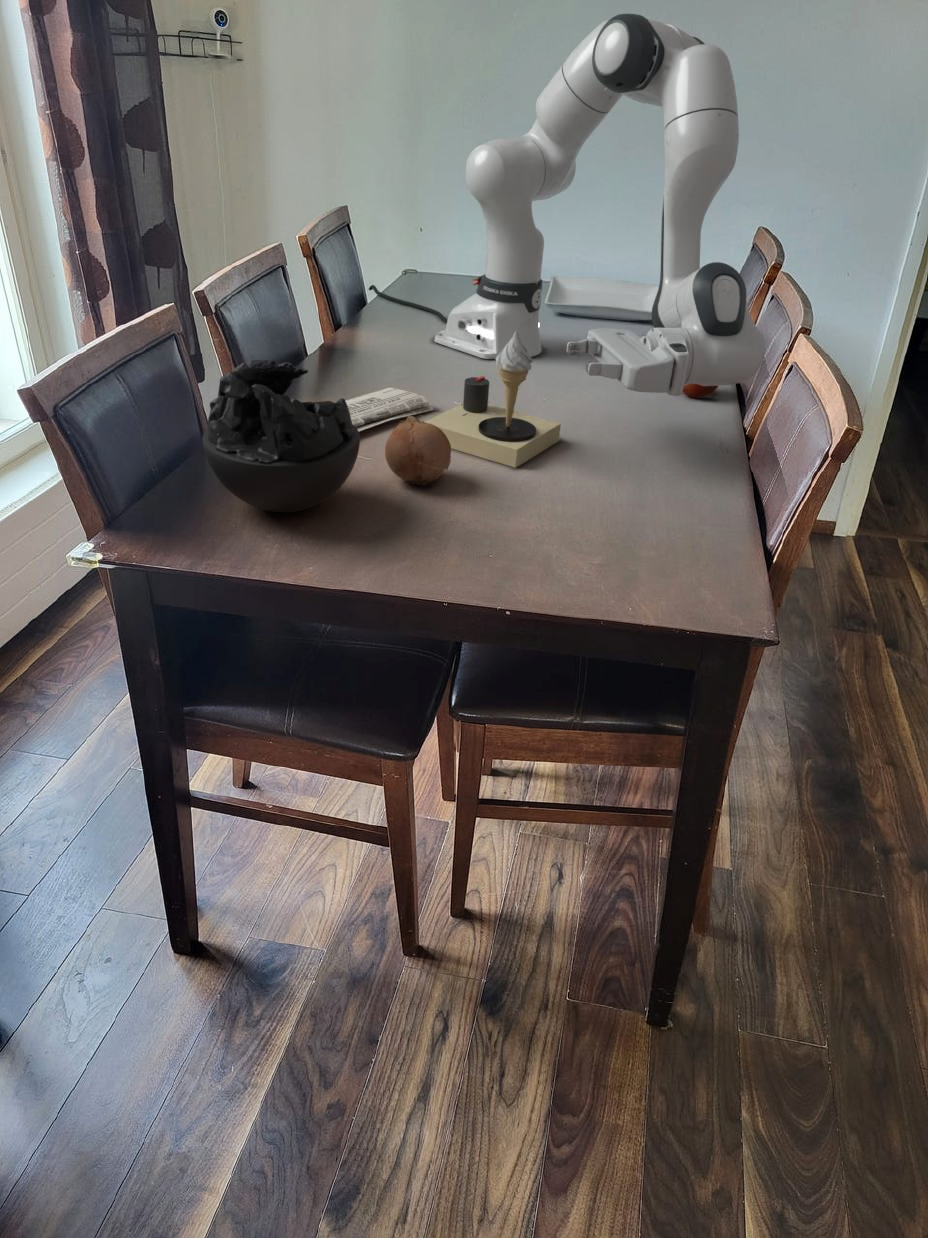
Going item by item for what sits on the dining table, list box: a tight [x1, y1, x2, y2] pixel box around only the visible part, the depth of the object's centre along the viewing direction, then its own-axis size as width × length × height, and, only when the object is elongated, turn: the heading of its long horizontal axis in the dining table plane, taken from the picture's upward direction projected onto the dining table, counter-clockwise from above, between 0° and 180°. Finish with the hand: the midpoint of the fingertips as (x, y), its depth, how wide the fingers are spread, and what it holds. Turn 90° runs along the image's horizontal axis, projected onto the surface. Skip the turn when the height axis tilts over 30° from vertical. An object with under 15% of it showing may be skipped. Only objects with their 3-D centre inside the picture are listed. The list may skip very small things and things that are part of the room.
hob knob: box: [462, 375, 490, 413], centre depth 150 cm, size 4×4×5 cm
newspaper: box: [345, 387, 435, 432], centre depth 154 cm, size 23×12×2 cm, turn 138°
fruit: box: [682, 384, 719, 399], centre depth 172 cm, size 8×8×8 cm
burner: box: [478, 417, 536, 442], centre depth 144 cm, size 9×9×1 cm
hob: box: [424, 401, 561, 469], centre depth 148 cm, size 18×15×3 cm
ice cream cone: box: [495, 330, 534, 427], centre depth 140 cm, size 6×6×15 cm
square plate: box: [544, 275, 659, 322], centre depth 223 cm, size 27×27×4 cm
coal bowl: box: [201, 358, 361, 513], centre depth 120 cm, size 20×20×19 cm
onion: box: [384, 415, 452, 486], centre depth 132 cm, size 10×9×10 cm
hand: (577, 358), depth 140 cm, fingers open, 8 cm apart
